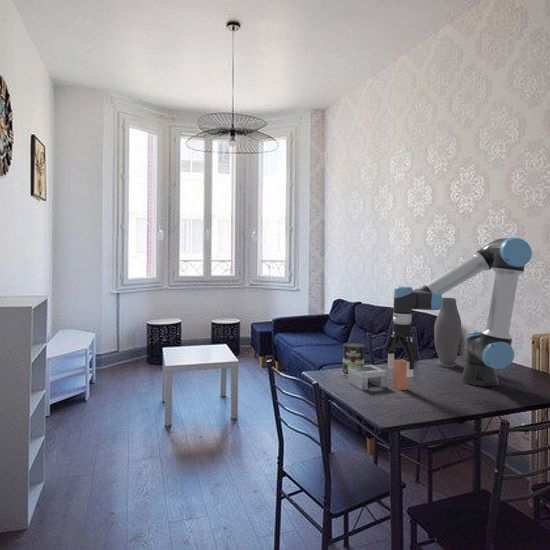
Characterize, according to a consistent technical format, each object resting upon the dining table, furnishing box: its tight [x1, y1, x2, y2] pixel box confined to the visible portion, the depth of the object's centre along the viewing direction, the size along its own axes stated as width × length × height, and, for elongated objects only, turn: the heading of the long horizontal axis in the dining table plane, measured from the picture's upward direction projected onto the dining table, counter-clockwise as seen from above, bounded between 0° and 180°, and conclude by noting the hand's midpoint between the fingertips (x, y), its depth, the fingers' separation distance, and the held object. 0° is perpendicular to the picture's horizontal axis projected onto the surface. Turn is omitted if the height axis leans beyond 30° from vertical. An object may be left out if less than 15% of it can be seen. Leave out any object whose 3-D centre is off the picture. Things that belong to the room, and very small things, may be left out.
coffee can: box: [342, 342, 366, 377], centre depth 210 cm, size 10×10×14 cm
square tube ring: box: [347, 364, 388, 391], centre depth 193 cm, size 12×12×7 cm
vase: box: [433, 297, 462, 368], centre depth 227 cm, size 13×13×35 cm
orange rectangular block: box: [393, 358, 409, 391], centre depth 188 cm, size 4×4×12 cm
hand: (399, 372), depth 188 cm, fingers open, 13 cm apart
